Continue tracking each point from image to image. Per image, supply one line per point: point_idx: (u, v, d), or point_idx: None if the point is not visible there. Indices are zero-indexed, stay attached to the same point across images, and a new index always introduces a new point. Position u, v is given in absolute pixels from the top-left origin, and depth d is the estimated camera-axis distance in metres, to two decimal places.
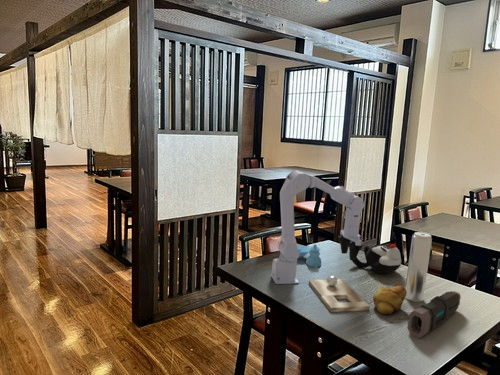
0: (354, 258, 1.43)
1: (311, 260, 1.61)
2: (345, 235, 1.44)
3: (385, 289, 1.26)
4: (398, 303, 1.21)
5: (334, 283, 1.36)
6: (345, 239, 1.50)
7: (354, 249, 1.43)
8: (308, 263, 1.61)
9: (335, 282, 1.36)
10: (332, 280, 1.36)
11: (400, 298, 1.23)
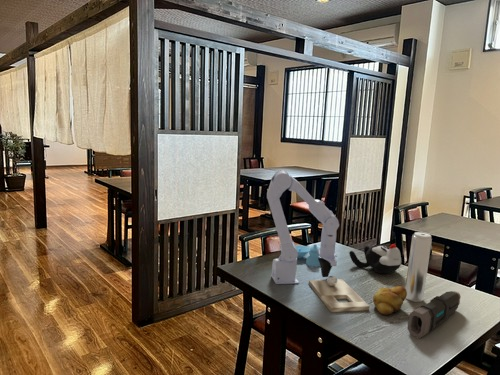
0: (327, 275, 1.44)
1: (311, 260, 1.61)
2: (321, 255, 1.41)
3: (385, 289, 1.26)
4: (398, 303, 1.21)
5: (334, 283, 1.36)
6: None
7: (326, 266, 1.43)
8: (308, 263, 1.61)
9: (335, 282, 1.36)
10: (332, 280, 1.36)
11: (400, 298, 1.23)
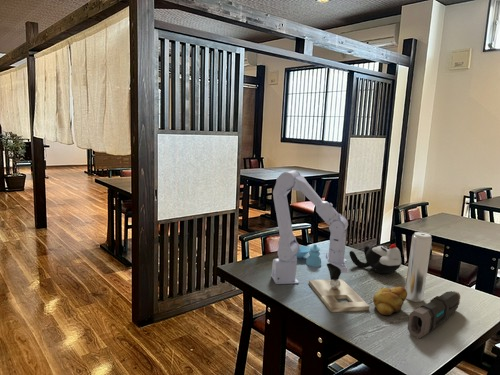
0: None
1: (311, 260, 1.61)
2: (330, 260, 1.34)
3: (385, 290, 1.26)
4: (398, 304, 1.21)
5: None
6: None
7: (335, 271, 1.35)
8: (308, 263, 1.61)
9: (337, 288, 1.35)
10: (334, 288, 1.34)
11: (400, 299, 1.22)
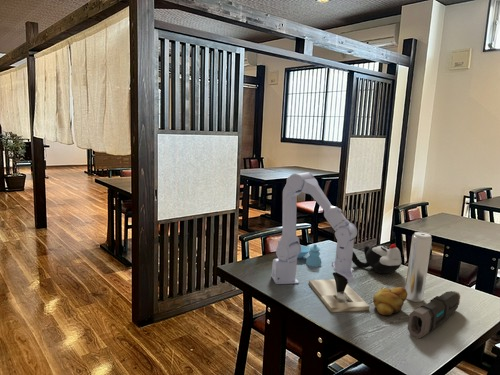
0: None
1: (311, 260, 1.61)
2: (336, 269, 1.27)
3: (385, 290, 1.26)
4: (398, 304, 1.21)
5: (340, 292, 1.28)
6: None
7: (342, 281, 1.29)
8: (308, 263, 1.61)
9: (340, 291, 1.29)
10: (337, 293, 1.29)
11: (400, 299, 1.22)
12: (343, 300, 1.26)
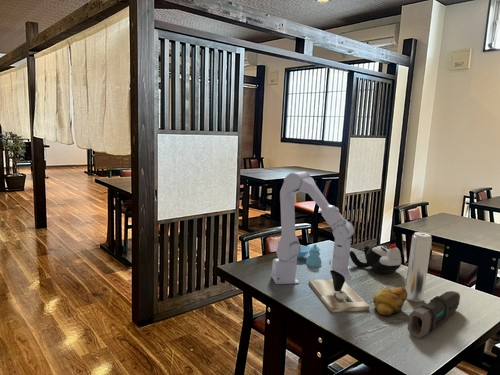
0: (339, 289, 1.32)
1: (311, 260, 1.61)
2: (333, 267, 1.29)
3: (385, 290, 1.25)
4: (398, 304, 1.20)
5: (339, 291, 1.28)
6: None
7: (339, 279, 1.31)
8: (308, 263, 1.61)
9: (340, 291, 1.29)
10: None
11: (400, 299, 1.22)
12: (343, 299, 1.26)
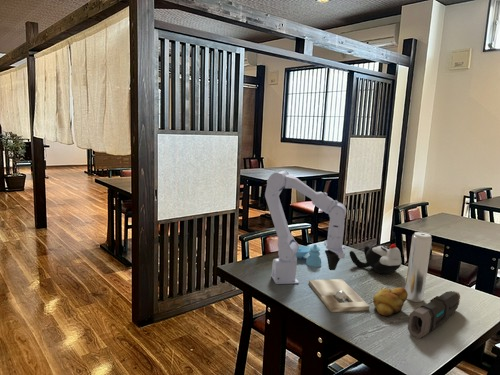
0: (334, 268, 1.37)
1: (311, 260, 1.61)
2: (328, 247, 1.35)
3: (386, 290, 1.25)
4: (398, 305, 1.20)
5: (337, 291, 1.29)
6: None
7: (334, 258, 1.36)
8: (308, 263, 1.61)
9: (338, 291, 1.30)
10: None
11: (400, 300, 1.22)
12: (342, 298, 1.27)
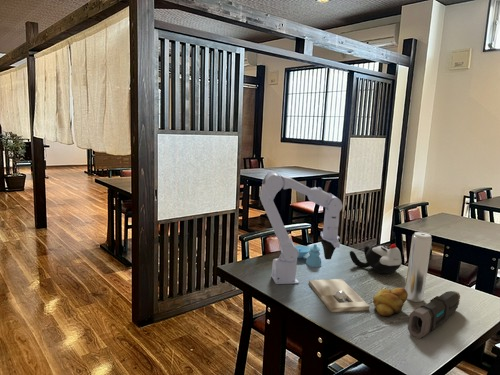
0: (329, 257, 1.44)
1: (311, 260, 1.61)
2: (324, 237, 1.41)
3: (386, 291, 1.25)
4: (398, 305, 1.20)
5: (338, 291, 1.29)
6: None
7: (329, 248, 1.43)
8: (308, 263, 1.61)
9: (338, 291, 1.30)
10: None
11: (400, 300, 1.22)
12: (342, 298, 1.27)
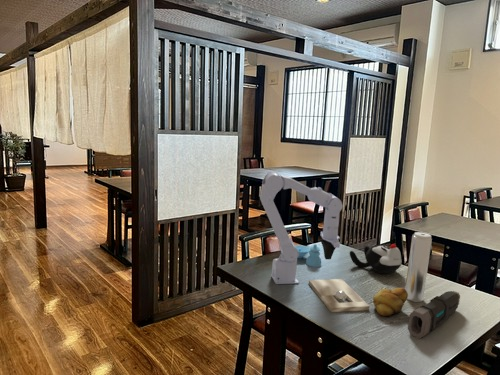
0: (329, 257, 1.44)
1: (311, 260, 1.61)
2: (324, 237, 1.41)
3: (386, 291, 1.25)
4: (398, 305, 1.20)
5: (338, 291, 1.29)
6: None
7: (329, 248, 1.43)
8: (308, 263, 1.61)
9: (338, 291, 1.29)
10: None
11: (400, 300, 1.21)
12: (342, 298, 1.27)
